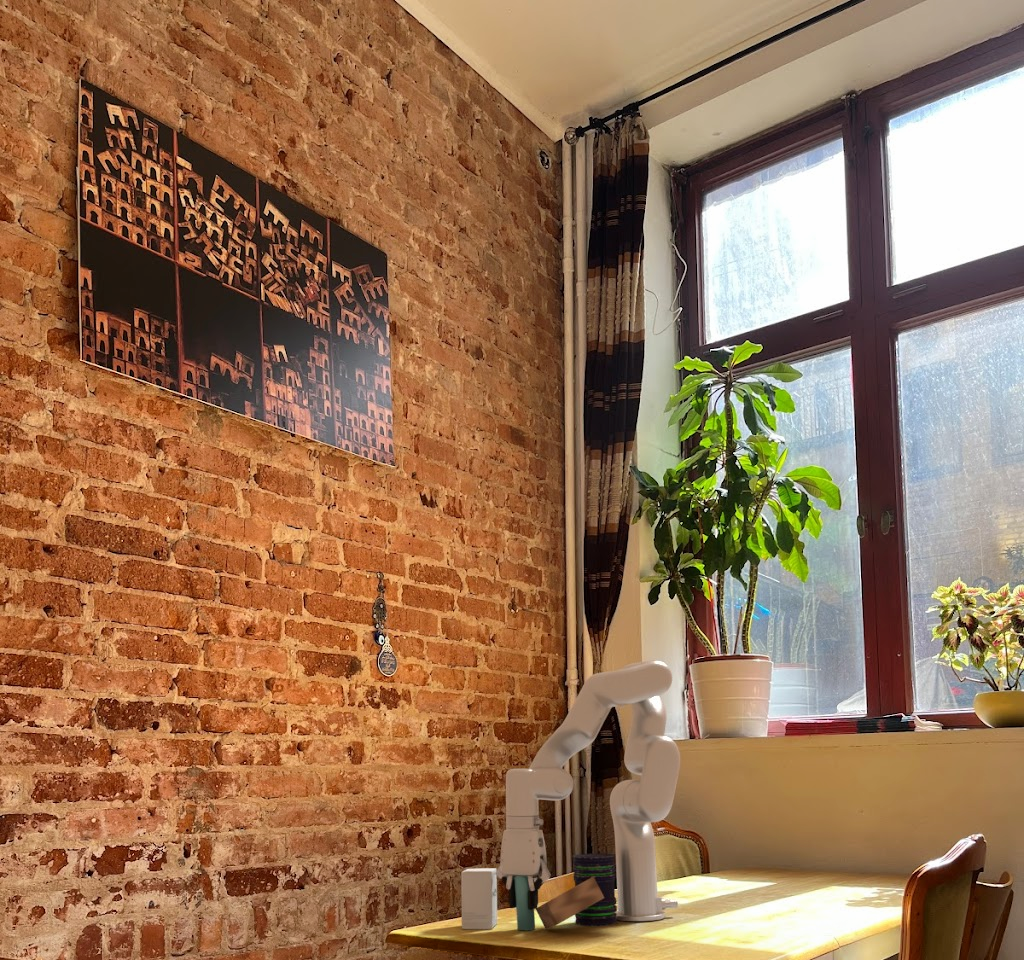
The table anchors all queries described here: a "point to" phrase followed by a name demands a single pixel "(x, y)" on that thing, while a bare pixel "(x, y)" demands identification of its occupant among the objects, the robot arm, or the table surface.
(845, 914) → the table surface
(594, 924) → the storage jar
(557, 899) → the brown wooden base
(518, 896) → the teal peg
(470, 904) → the supplement box
